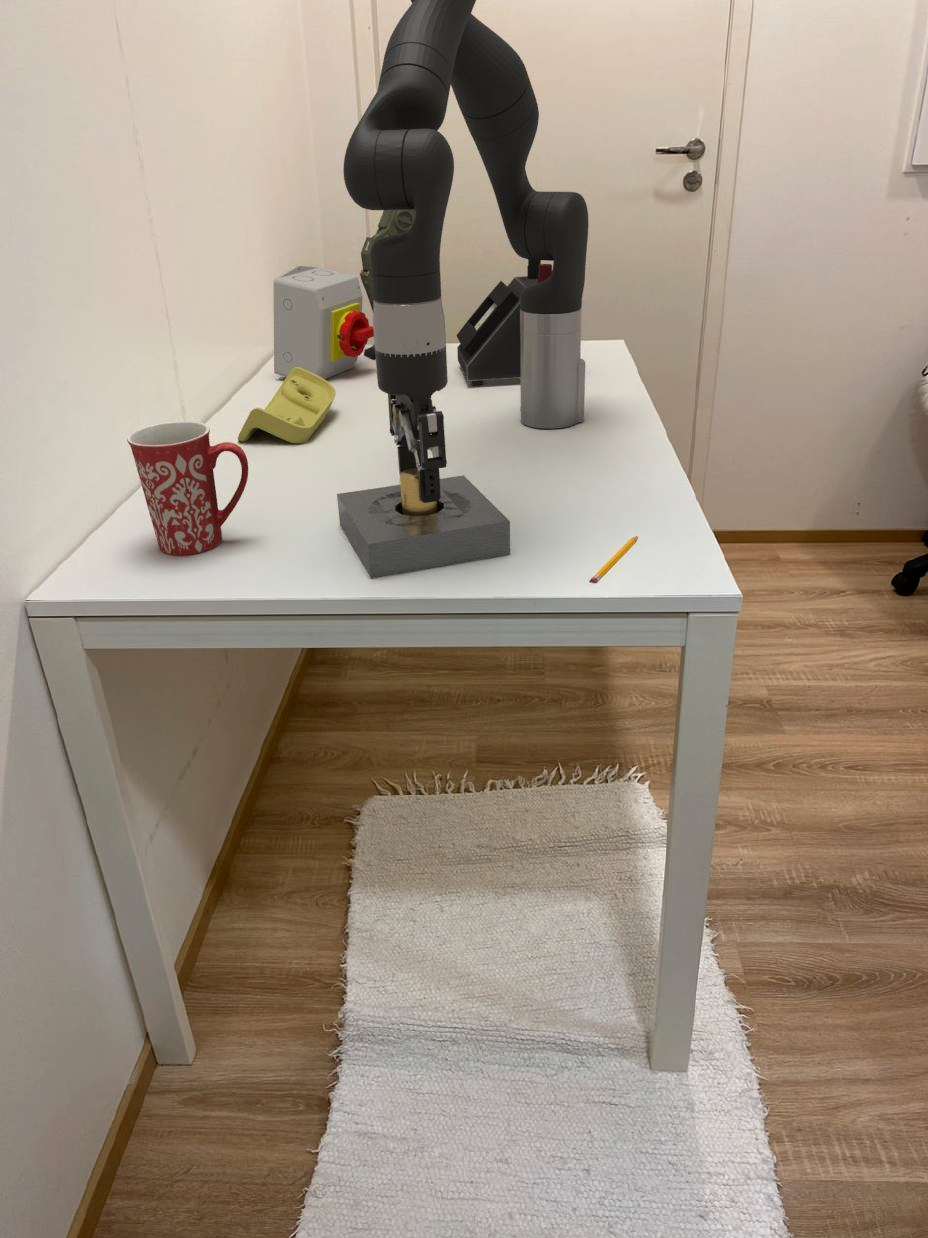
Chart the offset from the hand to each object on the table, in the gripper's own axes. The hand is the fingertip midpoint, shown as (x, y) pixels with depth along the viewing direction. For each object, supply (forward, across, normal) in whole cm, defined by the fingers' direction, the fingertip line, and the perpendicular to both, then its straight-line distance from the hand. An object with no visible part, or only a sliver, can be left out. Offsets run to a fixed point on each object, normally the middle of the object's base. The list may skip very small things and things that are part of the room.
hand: (419, 488), depth 106 cm
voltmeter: (+7, +68, -36) cm, 77 cm away
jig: (+6, 0, 0) cm, 6 cm away
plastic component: (+7, +52, +6) cm, 52 cm away
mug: (+6, +9, +24) cm, 27 cm away
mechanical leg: (+7, +95, -22) cm, 98 cm away
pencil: (+7, -14, -18) cm, 24 cm away
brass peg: (+6, 0, 0) cm, 6 cm away
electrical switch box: (+7, +83, -6) cm, 83 cm away
